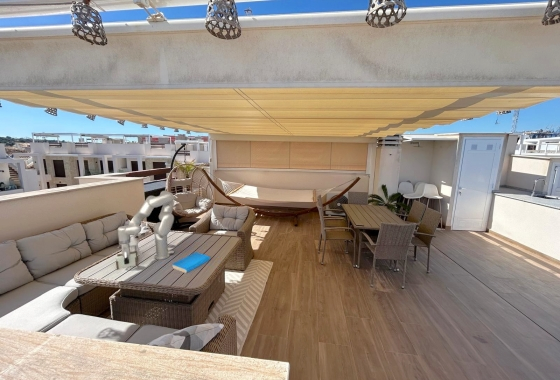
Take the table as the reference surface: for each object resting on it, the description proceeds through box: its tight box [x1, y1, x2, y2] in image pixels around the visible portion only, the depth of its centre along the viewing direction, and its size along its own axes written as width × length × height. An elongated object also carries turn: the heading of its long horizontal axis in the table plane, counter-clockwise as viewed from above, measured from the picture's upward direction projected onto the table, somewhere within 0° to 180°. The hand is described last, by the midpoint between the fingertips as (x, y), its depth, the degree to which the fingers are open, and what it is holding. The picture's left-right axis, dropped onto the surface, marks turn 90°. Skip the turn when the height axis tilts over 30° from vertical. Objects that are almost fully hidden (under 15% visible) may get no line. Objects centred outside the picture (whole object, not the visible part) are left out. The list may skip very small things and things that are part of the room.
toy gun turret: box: [129, 234, 144, 256], centre depth 202 cm, size 12×13×18 cm
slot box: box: [115, 251, 139, 271], centre depth 187 cm, size 14×15×7 cm
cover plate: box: [115, 253, 136, 270], centre depth 182 cm, size 13×2×10 cm, turn 122°
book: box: [171, 251, 211, 274], centre depth 190 cm, size 17×4×25 cm
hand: (127, 262), depth 183 cm, fingers open, 4 cm apart
